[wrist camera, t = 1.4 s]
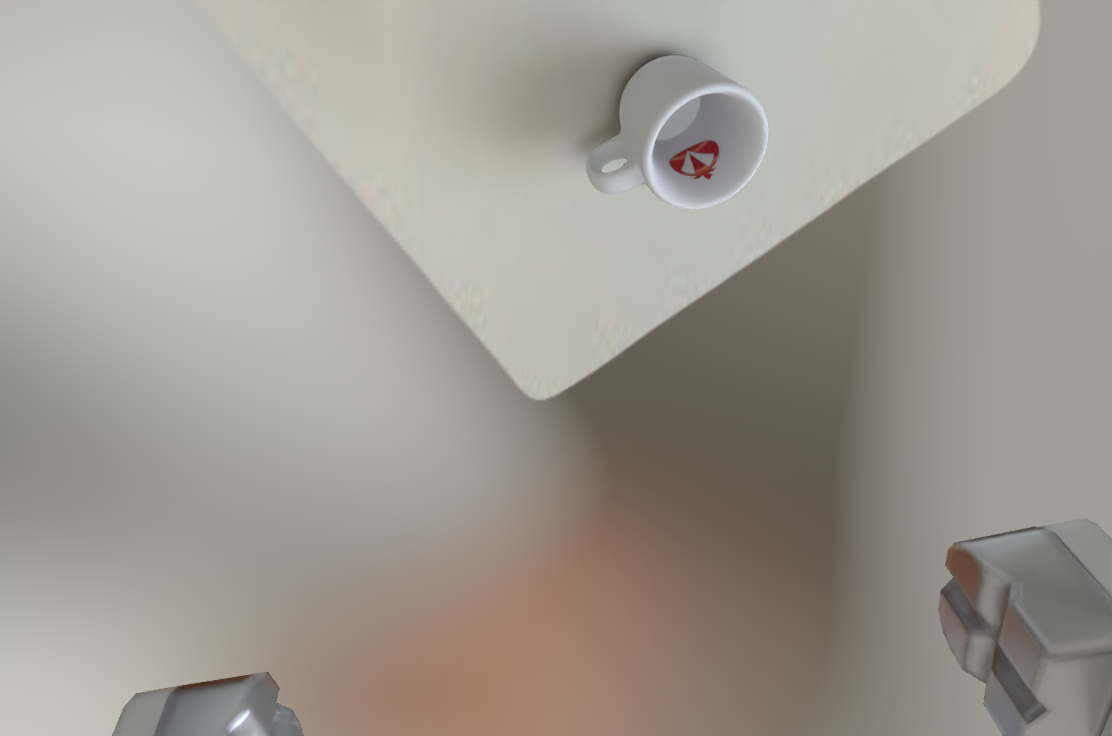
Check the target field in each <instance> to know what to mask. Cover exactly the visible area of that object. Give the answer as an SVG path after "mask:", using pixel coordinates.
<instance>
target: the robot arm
mask: <svg viewBox="0 0 1112 736" xmlns="http://www.w3.org/2000/svg"><path fill="white" fill-rule="evenodd" d="M945 566H946V567H947V569H948V570H949V572H950V573H951V574H952V576H953V578H952V579H951V580H950V581H949V582H948V583H947V585H946V586H944V588H943V589H942V590H941V592H940V601H939V609H938V610H939V615H940V620H941V624H942V630H943V633H944V635H945V638H946V640H947V642H948V645H949V647H950V650H951V651H952V653H953V655H954V656H955V658H956V660H957V661H958V663H959V665H960V666H961V668H962V670H964V671H966V672H967V673H969V674H971V675H973V676H974V677H976V678H977V679H979V680H980V681H982V682H984V683H985V684H986V689H985V696H984V706H985V707H986V709H987V711H988V712H989V714H990V715H991V717H992V718H993V720H994V722H995V723H996V725H997V727H998V728H999V730H1000V731H1001V733H1002V735H1003V736H1112V539H1111V538H1110V537H1109V536H1108V535H1107V534H1106V532H1104V530H1103V529H1102V528H1101V527H1100V526H1098V525H1097V524H1096V523H1094V522H1092V521H1090V520H1088V519H1079V520H1073V521H1068V522H1062V523H1057V524H1052V525H1047V526H1042V527H1030V528H1026V529H1021V530H1015V531H1010V532H1005V533H1001V534H996V535H991V536H986V537H981V538H976V539H971V540H966V541H961V542H956V543H954V544H953V545H952V546H951V547H950V548H949V550H948V553H947V558H946V563H945ZM278 692H279V687H278V685H277V684H276V682H275V681H274V679H273V678H272V676H271V675H270V674H269V672H264V673H257V674H252V675H245V676H239V677H232V678H227V679H220V680H213V681H207V682H201V683H195V684H188V685H182V686H176V687H170V688H164V689H159V690H153V691H147V692H142V693H136V694H135V695H134V696H133V698H132V699H131V700H130V701H129V702H128V703H127V704H126V705H125V707H124V708H123V710H122V713H121V715H120V717H119V720H118V722H117V725H116V727H115V730H114V732H113V735H112V736H303V732H302V728H301V725H300V722H299V720H298V718H297V717H296V715H295V713H294V711H293V710H292V709H290V708H287V707H285V706H283V705H281V704H278V703H276V702H277V697H278Z"/></svg>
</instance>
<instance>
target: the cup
mask: <svg viewBox="0 0 1112 736" xmlns="http://www.w3.org/2000/svg"><path fill="white" fill-rule="evenodd" d="M619 119H620V125H621V131H620V133H619V134H618V135H617V136H616V137H614V138H612V139H610V140H608V141H606V142H604V143H603V144H601V145H599V146H598V147H596V148H595V149H594V150H593V151H592V152H591V153H590V155H589V156H588V158H587V162H586V171H587V174H588V177H589V179H590V181H591V183H592V185H593V186H594V187H595V188H596V189H597V190H599V191H600V192H602V193H605V194H616V193H620V192H623V191H626V190H629V189H631V188H633V187H636V186H638V185H641V184H645V185H647V186H648V187H649V188H650V190H651V191H652V192H653V193H654V194H655V195H656V196H657V197H658V198H659V199H660V200H661V201H663V202H665V203H666V204H668V205H671V206H673V207H676V208H681V209H701V208H706V207H710V206H713V205H716V204H718V203H720V202H722V201H724V200H726V199H728V198H729V197H731V196H732V195H734V194H735V193H736V192H738V191H739V190H740V189H741V188H742V187H743V186H744V185H745V184H746V183H747V182H748V181H749V180H750V179H751V177H752V176H753V175H754V173H755V172H756V170H757V169H758V167H759V165H760V163H761V161H762V159H763V156H764V154H765V151H766V147H767V142H768V121H767V116H766V113H765V110H764V108H763V106H762V104H761V103H760V101H759V100H758V99H757V97H756V96H755V95H754V94H753V93H752V92H750V91H749V90H748V89H746V88H745V87H743V86H741V85H740V84H738V83H736V82H734V81H733V80H731V79H729V78H727V77H726V76H724V75H722V74H720V73H719V72H717V71H715V70H713V69H712V68H710V67H708V66H706V65H705V64H703V63H701V62H699V61H697V60H695V59H692V58H689V57H685V56H680V55H670V56H664V57H660V58H657V59H655V60H653V61H650V62H649V63H647V64H645V65H644V66H643V67H641V68H640V69H639V70H638V71H637V72H636V73H635V74H634V75H633V77H632V78H631V79H630V80H629V82H628V84H627V85H626V87H625V89H624V91H623V94H622V97H621V101H620V108H619ZM621 158H622V159H627V162H626V163H625V164H624V165H623V166H622V167H621V168H619V169H617V170H615V171H613V172H609V173H603V172H601V170H602V168H603V167H604V166H605V165H606V164H607V163H609V162H611V161H613V160H616V159H621Z"/></svg>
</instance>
